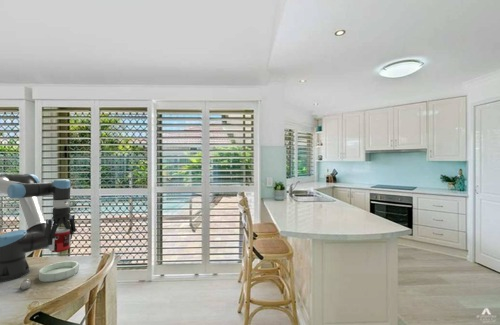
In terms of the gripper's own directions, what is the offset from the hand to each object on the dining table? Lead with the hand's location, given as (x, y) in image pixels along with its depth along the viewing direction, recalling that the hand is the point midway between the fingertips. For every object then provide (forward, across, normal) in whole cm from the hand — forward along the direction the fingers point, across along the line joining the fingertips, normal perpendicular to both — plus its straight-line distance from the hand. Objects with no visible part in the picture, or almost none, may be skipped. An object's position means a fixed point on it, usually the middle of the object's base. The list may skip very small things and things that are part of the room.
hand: (60, 247), depth 131 cm
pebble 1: (+15, -14, +2) cm, 20 cm away
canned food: (+1, 0, 0) cm, 1 cm away
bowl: (+15, 0, 0) cm, 15 cm away
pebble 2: (+15, -16, -1) cm, 22 cm away
